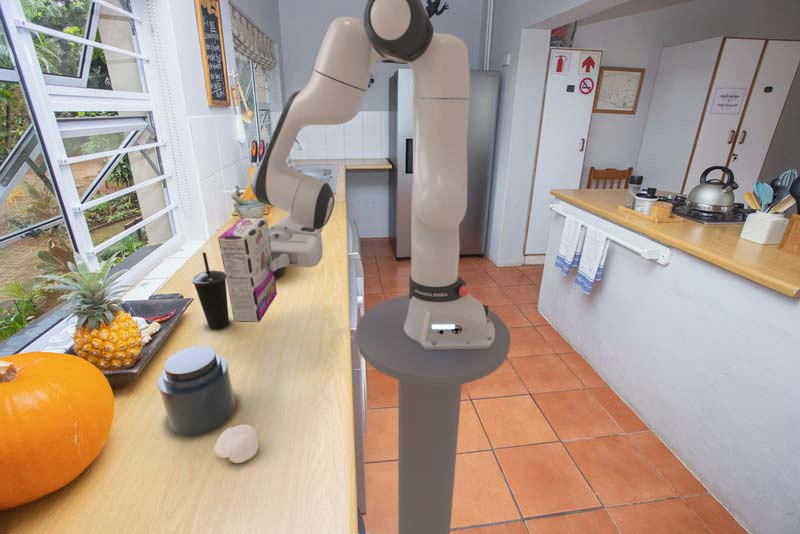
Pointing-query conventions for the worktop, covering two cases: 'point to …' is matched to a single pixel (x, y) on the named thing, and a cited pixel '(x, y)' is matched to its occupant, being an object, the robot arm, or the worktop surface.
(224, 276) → the drinking cup
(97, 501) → the worktop surface
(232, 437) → the dumpling
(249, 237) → the candy bar box
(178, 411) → the jar
